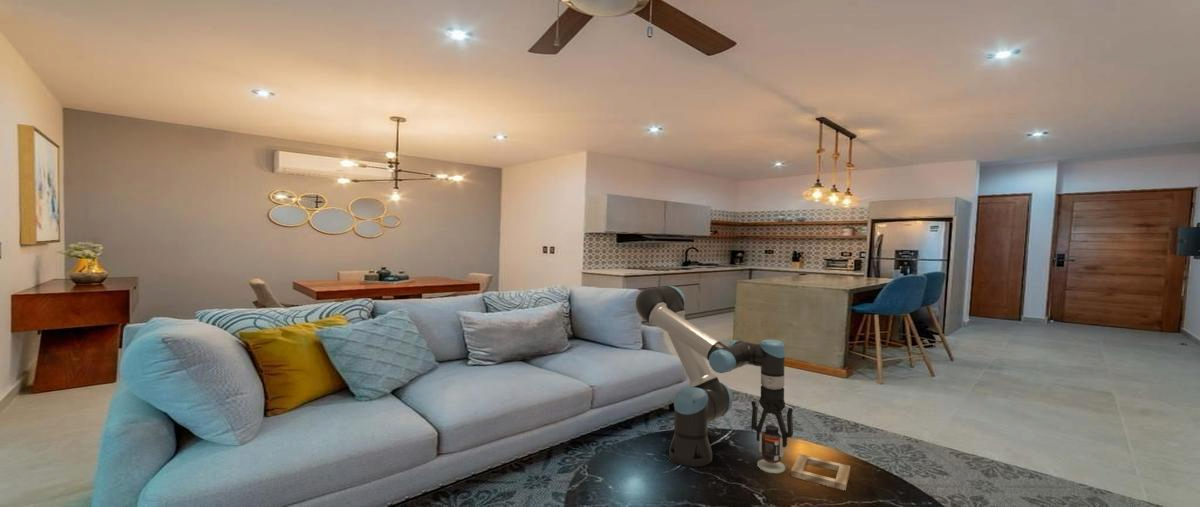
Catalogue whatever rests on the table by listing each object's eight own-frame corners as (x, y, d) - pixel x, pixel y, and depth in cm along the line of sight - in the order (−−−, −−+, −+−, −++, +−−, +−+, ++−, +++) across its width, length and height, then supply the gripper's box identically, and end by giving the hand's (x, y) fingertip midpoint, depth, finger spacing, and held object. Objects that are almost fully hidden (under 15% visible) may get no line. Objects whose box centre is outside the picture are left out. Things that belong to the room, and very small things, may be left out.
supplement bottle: (782, 464, 159) (782, 431, 159) (763, 463, 160) (763, 430, 160) (779, 456, 165) (779, 424, 165) (761, 454, 166) (761, 423, 166)
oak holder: (790, 476, 157) (791, 470, 157) (799, 459, 168) (799, 453, 168) (845, 490, 148) (845, 484, 148) (850, 471, 160) (850, 465, 160)
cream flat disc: (754, 468, 162) (754, 467, 162) (761, 458, 169) (761, 456, 169) (781, 476, 157) (781, 474, 157) (787, 465, 164) (787, 463, 164)
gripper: (741, 384, 164) (740, 450, 165) (800, 394, 153) (798, 464, 154) (747, 378, 170) (746, 442, 171) (804, 388, 160) (803, 455, 161)
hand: (771, 452), depth 163 cm, fingers closed on supplement bottle, 6 cm apart
